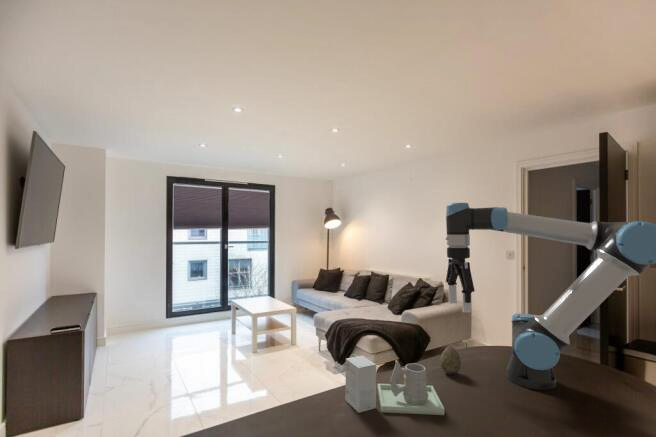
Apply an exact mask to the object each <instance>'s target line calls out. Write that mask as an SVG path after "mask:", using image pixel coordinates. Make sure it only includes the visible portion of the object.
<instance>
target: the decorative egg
mask: <svg viewBox="0 0 656 437" xmlns="http://www.w3.org/2000/svg"><path fill="white" fill-rule="evenodd" d="M461 360H462V359H461V357H460V355H459V353H458V352H457V350H456V349H455V347H454V346H447V347H446V348H445V349H443V351H442V353H441V354H440V367H441V369H442V370H443V371H444V373H446V374H448V375H455V374H457V373H459V371H460V369H461V366H462V361H461Z"/></svg>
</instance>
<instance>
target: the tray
mask: <svg viewBox="0 0 656 437" xmlns="http://www.w3.org/2000/svg"><path fill="white" fill-rule="evenodd" d="M396 384H397V383H396ZM402 385H403V384H400V383H398V384H397V386H398V387H400V386H402ZM390 386H391V384H389V383H376V391H377V394H378V399H379V400H378V401H379V405H380V410H381V413H386V414H387V413H388V414H391V413H392V414H409V415H411V414H413V415H431V416H432V415H435V416H436V415H438V416H445V412H446V411H445V407H444V405H443V403H442V402H441V400H440V397H439V396H438V394H437V391H436V390H435V388H434V385H427V393H428V399H427V402H426V404H423V405H413V404H410V403H408V402H406V401H405V400H404V396H403V392H401V393H399V394H398V395H397V396H396V397H395V396H394V394H393V393H392V391H391V387H390Z"/></svg>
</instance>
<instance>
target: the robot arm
mask: <svg viewBox="0 0 656 437" xmlns="http://www.w3.org/2000/svg"><path fill="white" fill-rule="evenodd" d="M445 212H446V213H445V214H446V215H445V222H446V224H445V225H446V226H445V227H446V237H445V240H446V246H448V247H447V248H446V257H447V258H448V259H447V260H448V264H447V271H446V277H445V278H446V279H445V282H446V283H447V286H448V288H447V289H448V304H457V299H458V298H457V285H458V282H457V279H458V277H459V282H460V284H461V288H462V290H461V297H462V298H461V300H462V301H461V302H462V303H461V304H462V313H473V312H472V311H473V309H472V293H474V292H475V291H476V290H475V286H474V281H473V277H472V276H473V275H472V272H471V263H470V261H466V259H469V258H471V252H470V251H471V248H470V245H471V240H470V238H471V237H470V230H471V231H472V230H475V231H476V230H478V231H479V230H480V231H482V230H483V231H484V230H485V231H486V230H487V231H488V230H489V231H496V232H503V233H509V234H514V235H521V236H526V237H531V238H532V237H533V238H539V239H546V240H550V241H555V242H561V243H562V242H563V243H567V244H574V245H579V246H585V247H586V248H587V249H588V250H589V251H590V250H591V251H596V254H597V255H596V256H597V257H596V258H595V259H594V261H592V262H591V264H589V265H588V267H586V269H585V270H583V272H581V274H580V275H579V276H578V278H576V279H575V280H574V282H572V283H571V284H570V286H568V287H567V289H565V291H564V292H562V294H560V296H558V298H557V299H556V300H555V301H554V302H553V303H552V304H551V305H550V306H549V307H548V309H547V310H545V311H544V313H543V314H541V315H540V314H539V315H538V314H529V313H513V314H512V317H511V336H512V337H511V357H510V359H509V361H508V362H509V363H508V364H507V367H506V378H507V379H508V380H509V381H510V382H513V383H514V384H515V385H516V384H517V385H518V386H521V387H524V388H528V389H532V390H536V391H537V390H539V391H549V390H554V389H555V388H556V387H557V379H556V375H555V371H554V369H553V368H554V367H555V366H556V365H557V364H558V363H559V361H560V357H561V353H562V352H563V351H564V350H565V349H566V348H567V347H568V346H569V345H570V344H571V342H570V335H571V334H572V333H573V332H574V331H575V330H576V329H577V328H578V327H580V325H581V324H582V323H583V322H584V321H585V320H586V319H587V318H588V317H589V316H590V315H591V314H592V313H594V311H595V310H596V309H597V308H598V307H599V306H600V305H601V304H602V303H603V302H604V301H605V300H606V299H607V298H608V297H610V295H611V294H612V293H613V292H614V291H615V290H617V288H619V286H620V285H621V284H622V283H623V282H624V281H626V280H627V278H628V277H633V276H640V275H641V274H642V273H643V272H644V271H645V270H646V269H647V268H648V267H649V266H650V265H654V264H656V224H655V223H652V222H649V221H644V220H633V221H620V222H619V221H617V222H608V221H607V222H605V221H596V220H594V221H592V222H582V221H574V220H568V219H560V218H556V217H555V218H553V217H545V216H539V215H533V214H525V213H518V212H511V211H508V209H507V207H498V206H494V207H493V206H492V207H478V208H477V207H476V208H475V207H474V208H473V207H470V205H469V203H468V202H451V203H448V204H447V205H446V211H445Z"/></svg>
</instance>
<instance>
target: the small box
mask: <svg viewBox="0 0 656 437" xmlns="http://www.w3.org/2000/svg"><path fill="white" fill-rule="evenodd" d="M344 394H345V396H344V397H345V400H344V401H346V403H348V404H349V405H350V406H351V407H352V408H353V409H354V410H355V411H356V412H357V413H358V414H359V413H362V412H367V411H371V410H374V409H376V408H377V363H374V362H373V361H371V360H370V359H368V358H367V357H366V356H364V355H358V356H353V357H348V358H347V357H346V358H345V393H344Z"/></svg>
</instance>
